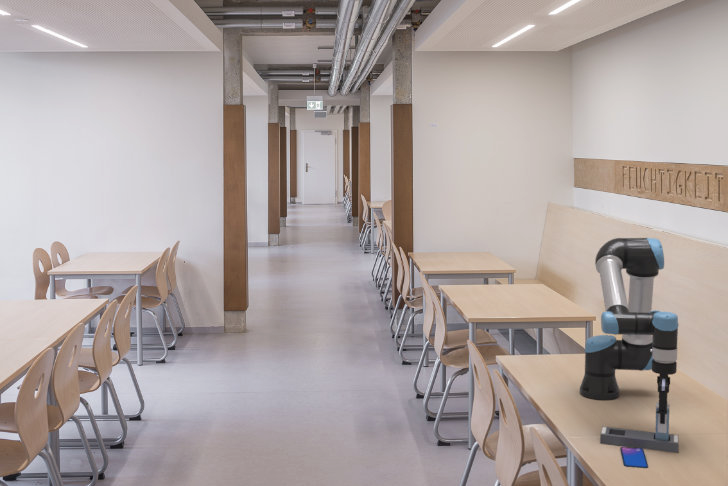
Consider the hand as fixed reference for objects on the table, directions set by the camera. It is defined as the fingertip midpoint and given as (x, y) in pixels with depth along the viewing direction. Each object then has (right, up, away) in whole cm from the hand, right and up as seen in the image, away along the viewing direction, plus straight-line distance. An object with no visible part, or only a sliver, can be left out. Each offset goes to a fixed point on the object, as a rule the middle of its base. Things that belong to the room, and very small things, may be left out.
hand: (662, 429), depth 247 cm
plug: (0, -4, 0) cm, 4 cm away
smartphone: (-12, -7, -8) cm, 16 cm away
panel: (-6, -5, +3) cm, 9 cm away
